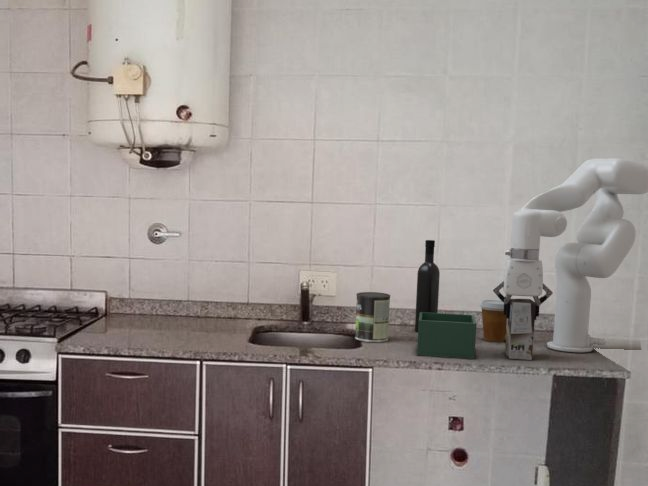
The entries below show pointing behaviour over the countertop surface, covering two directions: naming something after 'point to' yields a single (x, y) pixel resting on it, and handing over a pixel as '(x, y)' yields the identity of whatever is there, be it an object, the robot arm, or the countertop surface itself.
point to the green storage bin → (446, 335)
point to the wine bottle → (427, 284)
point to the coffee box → (520, 329)
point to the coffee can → (372, 317)
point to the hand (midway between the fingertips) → (520, 317)
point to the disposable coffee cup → (493, 320)
